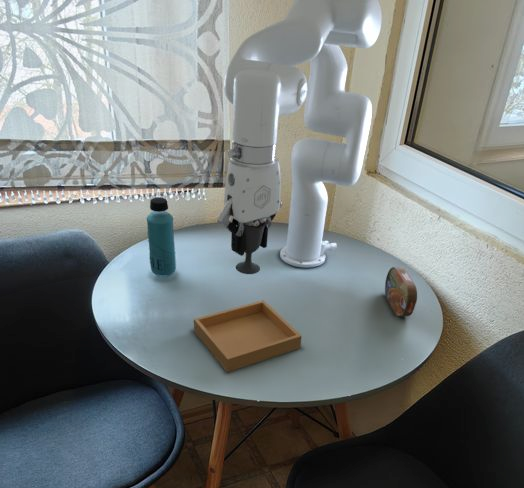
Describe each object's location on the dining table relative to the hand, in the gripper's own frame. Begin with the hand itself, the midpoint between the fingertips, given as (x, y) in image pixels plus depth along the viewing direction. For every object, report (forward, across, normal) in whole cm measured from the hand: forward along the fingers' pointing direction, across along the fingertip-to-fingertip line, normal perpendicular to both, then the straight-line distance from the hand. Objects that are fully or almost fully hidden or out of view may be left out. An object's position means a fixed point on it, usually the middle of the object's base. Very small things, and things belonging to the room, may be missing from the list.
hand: (249, 247), depth 99 cm
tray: (+21, 0, -1) cm, 21 cm away
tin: (+21, +38, -12) cm, 45 cm away
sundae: (+5, 0, 0) cm, 5 cm away
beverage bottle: (+22, 0, +33) cm, 39 cm away
